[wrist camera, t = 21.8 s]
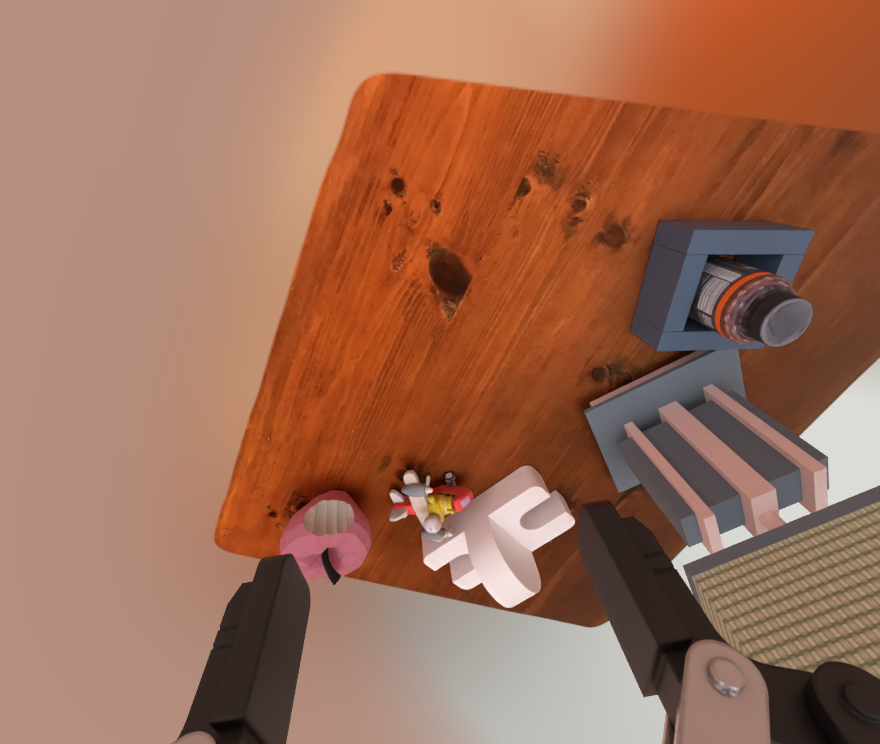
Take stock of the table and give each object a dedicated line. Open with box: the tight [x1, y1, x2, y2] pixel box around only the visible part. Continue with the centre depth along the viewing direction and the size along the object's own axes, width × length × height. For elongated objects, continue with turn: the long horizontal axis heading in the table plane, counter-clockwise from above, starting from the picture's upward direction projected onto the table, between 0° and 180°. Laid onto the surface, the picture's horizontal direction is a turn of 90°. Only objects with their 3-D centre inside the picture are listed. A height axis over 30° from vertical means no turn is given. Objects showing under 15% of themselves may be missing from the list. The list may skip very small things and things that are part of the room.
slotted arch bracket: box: [422, 465, 575, 608], centre depth 50 cm, size 10×18×11 cm, turn 130°
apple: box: [279, 490, 371, 585], centre depth 45 cm, size 10×9×10 cm
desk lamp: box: [584, 349, 880, 680], centre depth 34 cm, size 18×14×33 cm
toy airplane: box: [389, 470, 474, 542], centre depth 47 cm, size 9×9×6 cm
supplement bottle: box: [688, 255, 813, 347], centre depth 36 cm, size 6×6×11 cm
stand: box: [630, 220, 815, 351], centre depth 39 cm, size 11×11×5 cm
